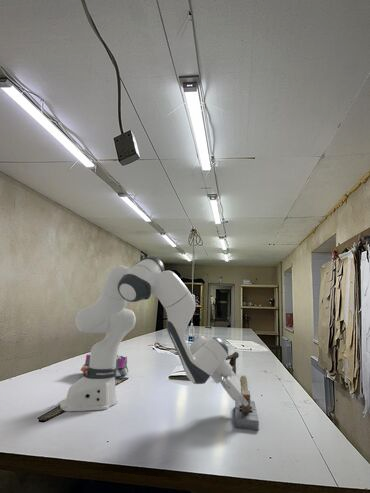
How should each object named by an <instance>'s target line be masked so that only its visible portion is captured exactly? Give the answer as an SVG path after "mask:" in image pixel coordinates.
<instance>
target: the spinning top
mask: <svg viewBox="0 0 370 493" xmlns="http://www.w3.org/2000/svg"><path fill="white" fill-rule="evenodd" d="M89 363H90V353H89V354H86V356H85V362H84V364H83V365H82V367H86V368H87V367H89ZM116 367H117V375H116V377H122V376H124V375H127V374H128V373H129V368H128V356H123V355H118V354H117V359H116Z"/></svg>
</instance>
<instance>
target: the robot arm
mask: <svg viewBox="0 0 370 493" xmlns="http://www.w3.org/2000/svg"><path fill="white" fill-rule="evenodd" d="M104 280H105V281H104V283H103V286H102V290H101V293H100V295H99V297H98V298H97V299H96V300H95V301H94V302H93V303H91V304H90V305H87V306H86V307H83V308H81V309H80V310H79V311H78V312H77V314H76V316H75V326H76V329H77V330H78V331H79V332H82V333H87V334H88V333H89V334H105V337H104V338H103V339H102V340H99V341H98V342H96V343H95V344H93V345H92V346H91V349H90V353H89V354H90V363H89V367H87V368H86V367H83V366H82V367H81V368H80V371H81V372H82V373H83V376H82V377H81V378H80V379H79V380H77V381H76V382H74V383H72V384H71V386H69V388H68V391H67V394H66V397H65V398H62V399H61V400H60V402H59V407H60V409H61V410H63V411H64V412H83V411H102V410H108V409H109V408H110V407H113V406H115V405H116V403H117V402H118V398H117V394H116V392H117V391H116V380H117V376H116V375H117V367H116V359H117V355H118V353H119V352H118V350H119V346H120V345H121V342H122V341H123V339H124V337H125V336H127V334H128V333H130V332H131V331H132V330H133V329H134V328H135V326H136V323H137V317H136V315H135V312H134V311H133V310H132V309H129V308H125V307H126V305H127V304H128V302H130V303H137V302H140V301H143V300H144V301H145V300H149V299H150V298H151V296H155V297H156V298H157V299H158V300H159V302H160V304H161V305H162V306H163V309H165V313H166V316H167V322H166V324H165V325H166V329H167V332H168V335H169V337H170V340H171V342H172V345H173V346H174V348H175V351H176V353H177V355H178V357H179V359H180V362H181V365H182V368H183V370H184V372H185V375H186V377H187V378H188V380H189V381H190V382H192V383H193V384H194V385H202V384H203V385H204V384H206V382H207V381H208V380H209V379H210V378H211V379H212V380H213V381H214V382H215V383H216V384H219V383H220V384H221V386H222V388H223V389H224V390H225V391H226V393H227V394H228V396H229V397H230V398H231V399H232V400H233V401H234V402H235V401H236V400H239V401H240V402H241V403H242V404H243V405H244V406H247V405H248V401H247V400H246V399H245V398H244V397H243V396H242V390H243V388H242V387H241V379H240V378H239V377H238V376H237V373H236V374H235V373H234V372H233V370H232V368H233V367H232V366H231V365H230V364H229V361H228V360H226V358H227V356H229V348H228V345H227V344H226V343H225V342H224V341H223V340H222V339H221V338H220V337H210V338H206V337H205V336H203V335H199V336H197V337H196V338H195V339H194V340H193V341H192V342H191V344H190V346H189V344H188V343H187V340H186V336H185V335H186V332H187V328H188V326H189V323H190V321H191V319H192V318H193V316H194V314H195V311H196V300H195V298H194V296H193V295H192V293H191V291H190V290H189V288H188V287H187V286H186V284H185V283H184V282H183V281H182V280H181V278H180V277H179V276H178V275H177V274H176V273H175V272H174V271H172V270H165V266H164V263H163V262H162V261H161V259H159V258H158V257H157V256H148V257H144V258H143V259H140V260H139V261H138V262H135V264H134V265H133V266H132V267H128V266H126V265H123V264H121V265H120V264H119V265H115V266H113V267H112V268H111V269H110V271H109V272H108V275H107V276H106V279H104Z"/></svg>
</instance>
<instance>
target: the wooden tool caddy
mask: <svg viewBox="0 0 370 493" xmlns="http://www.w3.org/2000/svg"><path fill="white" fill-rule="evenodd" d="M239 356H240V355H239V353H238V351H234V352H233V353H232V354H230V355H228V356H227V358H226V361H228V363H229V364H230V365H231V366H232V367H233V368H232V370H233V372H234V373H235V374H236V375H237V364H236V363H237V359H238V358H239Z"/></svg>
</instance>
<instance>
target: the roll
mask: <svg viewBox="0 0 370 493" xmlns="http://www.w3.org/2000/svg"><path fill="white" fill-rule="evenodd" d="M247 379H248V378H247V376H246V375H241V376H240V378H239V380H240V383H241V387H242V388H243V390H246V391H249V389H248V388H249V387H248V380H247Z"/></svg>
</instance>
